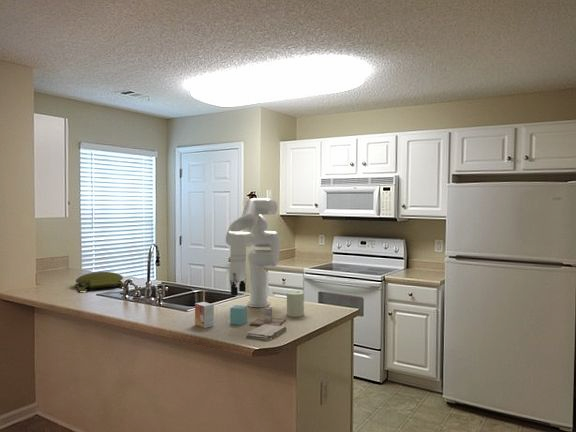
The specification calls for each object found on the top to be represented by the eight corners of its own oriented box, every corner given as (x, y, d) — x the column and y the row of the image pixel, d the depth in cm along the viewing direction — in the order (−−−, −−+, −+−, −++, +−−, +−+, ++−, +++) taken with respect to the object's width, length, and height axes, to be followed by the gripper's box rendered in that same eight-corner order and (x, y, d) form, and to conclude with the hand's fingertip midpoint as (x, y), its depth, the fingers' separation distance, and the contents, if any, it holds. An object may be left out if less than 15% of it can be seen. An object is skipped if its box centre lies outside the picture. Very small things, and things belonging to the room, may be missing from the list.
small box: (194, 325, 219) (194, 303, 219) (204, 322, 223) (204, 301, 223) (204, 328, 214) (204, 306, 213) (214, 326, 217) (213, 304, 217)
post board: (259, 318, 230) (259, 303, 230) (285, 320, 226) (285, 305, 226) (249, 325, 218) (249, 310, 217) (277, 327, 214) (277, 312, 213)
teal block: (235, 320, 227) (235, 305, 226) (247, 321, 225) (247, 305, 224) (230, 323, 221) (230, 308, 220) (242, 324, 219) (242, 308, 219)
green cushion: (129, 288, 310) (128, 274, 310) (79, 294, 294) (79, 279, 294) (118, 281, 340) (117, 268, 340) (72, 285, 324) (72, 271, 323)
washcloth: (244, 339, 198) (244, 332, 198) (264, 328, 215) (264, 321, 215) (268, 342, 193) (268, 335, 193) (286, 331, 210) (286, 324, 210)
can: (307, 313, 240) (307, 291, 239) (298, 317, 232) (298, 294, 231) (292, 311, 244) (292, 289, 244) (283, 315, 236) (283, 292, 236)
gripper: (238, 256, 231) (238, 289, 231) (223, 260, 214) (223, 296, 215) (252, 256, 229) (252, 290, 229) (238, 260, 212) (238, 297, 212)
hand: (238, 293), depth 222 cm, fingers open, 9 cm apart
